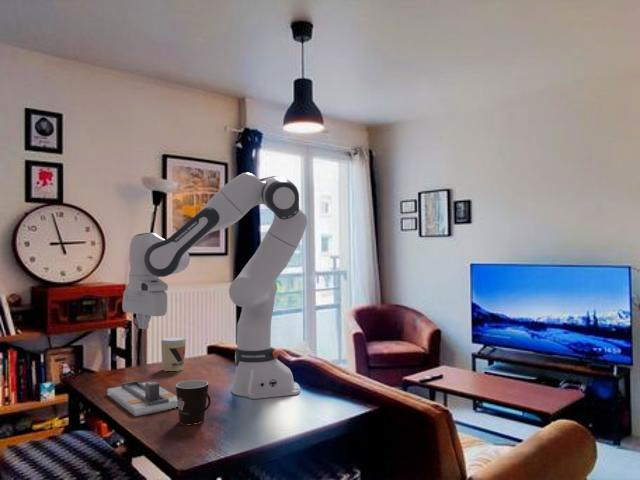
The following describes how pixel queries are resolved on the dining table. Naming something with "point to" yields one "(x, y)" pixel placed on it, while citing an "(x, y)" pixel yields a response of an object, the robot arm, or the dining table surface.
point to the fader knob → (152, 390)
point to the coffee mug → (192, 400)
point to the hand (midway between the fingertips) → (143, 328)
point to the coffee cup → (173, 353)
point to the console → (141, 398)
